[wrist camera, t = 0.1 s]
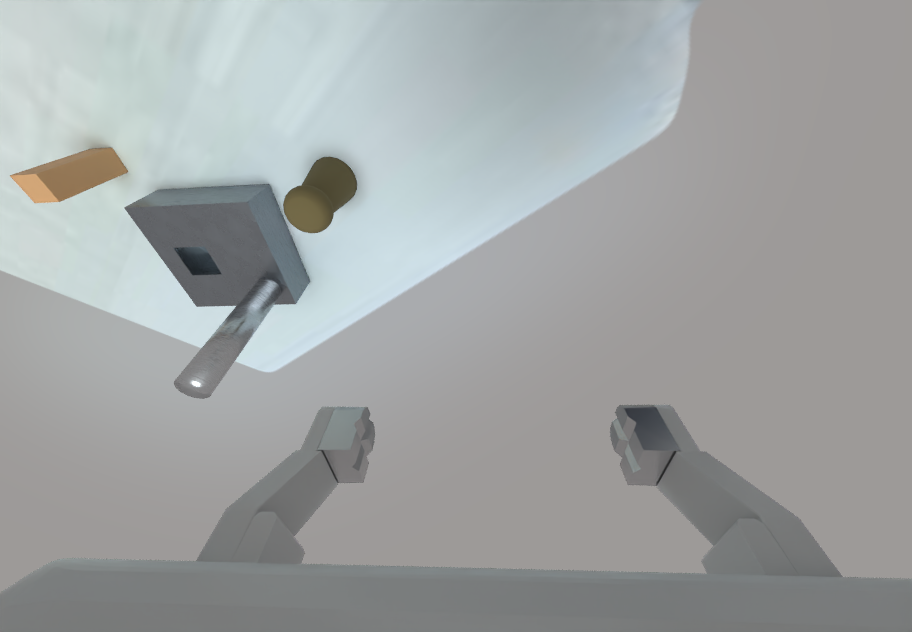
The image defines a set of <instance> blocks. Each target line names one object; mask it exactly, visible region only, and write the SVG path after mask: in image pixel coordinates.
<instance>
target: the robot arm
mask: <svg viewBox="0 0 912 632" xmlns="http://www.w3.org/2000/svg"><path fill="white" fill-rule="evenodd" d="M615 413H616V416H617V419H615V420H614V421H613V422H612V424H611V428H610V436H611V441H612V445H613V447H614V450H615V452H616V453H618V454H619V455H620V456H621V457H622V460H621V463H620V466H621V469H622V471H623V474H624V476H625V479H626V481H627V484H628V485H648V486H657V488H658V489H659V490H660V491H661V492H662V493H663V494H664V496H665V497H667V499H669V501H670V502H671V503H672V504H673V505H674V506H675V507H676V508H677V509H678V510H679V511H680V512H681V513H682V514H683V515H684V516H685V517H686V518H687V519H688V520H689V521H690V522H691V523H692V524H693V525H694V526H695V527H696V528H697V529H698V530H699V531H700V532H701V533H702V534H703V535H704V536H705V537H706V538H707V539H708V540H709V541H710V543H712V544H713V547H712V548H711V549H710V550H709V551H708V553H707V554H706V555H705V556H704V557H703V559H702V563H703V566H704V568H705V570H706V572H707V574H699V573H658V572H617V571H616V572H615V571H574V570H572V571H571V570H535V569H496V568H455V567H453V568H452V567H414V566H373V565H372V566H371V565H331V564H301V563H302V560H303V556H304V554H305V552H304V549H303V548H302V546H301V545H300V544H299V542H298V541H297V540H296V538H295V537H294V536H295V535H296V534H297V533H298V531H299V530H300V529H301V528H302V527H303V525H304V524H305V523H306V522H307V521H308V520H309V518H310V517H311V516H312V515H313V514H314V512H315V511H316V510H317V509H318V508H319V507H320V505H321V504H322V503H323V502H324V501H325V499H326V498H327V497H328V496H329V494H330V493H331V492H332V491H333V490H334V489H335V488H336V486H337V485H338V483H359V482H360V483H363V482H364V479H365V475H366V471H367V468H368V464H369V462H368V460H367V457H366V456H367V455H368V454H369V453H370V452H371V451H372V449H373V445H374V438H375V429H374V424H373V422H372V421H370V420H369V416H370V412H369V409H368V407H322V408H321V409H320V410H319V411H318V413H317V415H316V417H315V420H314V422H313V424H312V426H311V428H310V430H309V433H308V435H307V437H306V439H305V441H304V444H303V445H302V448H301V450H298V451H295V452H294V453H292V454H291V455H290V456H289V457H288V458H286V459H285V460H284V461H283V462H282V463H280V464H279V465H278V466H277V467H276V468H274V469H273V470H272V471H271V472H270V473H268V474H267V475H266V476H265V477H264V478H263V479H261V480H260V481H259V482H258V483H257V484H255V485H254V486H253V487H252V488H251V489H249V490H248V491H247V492H246V493H245V494H243V495H242V496H241V497H240V498H239V499H238V500H236V501H235V502H234V503H233V504H232V505H230V506H229V507H228V508H227V509H226V510H225V512H224V513H223V515H222V517H221V519H220V520H219V522H218V524H217V525H216V527H215V529H214V531H213V532H212V534H211V536H210V538H209V539H208V541H207V543H206V545H205V546H204V548H203V550H202V551H201V553H200V555H199V557H198V559H197V560H196V561H165V560H122V559H86V558H67V559H59V560H56V561H53V562H50V563H48V564H46V565H44V566H43V567H41V568H39V569H37V570H36V571H34V572H32V573H30V574H29V575H27V576H26V577H24V578H22V579H21V580H19V581H18V582H16V583H15V584H13V585H12V586H10V587H8V588H7V589H5V590H4V591H2V592H1V593H0V632H912V579H901V578H861V577H860V578H858V577H843V576H842V575H841V574H840V572H839V571H838V570H837V568H836V567H835V566H834V564H833V563H832V562H831V560H830V559H829V558H828V556H827V555H826V554H825V552H824V551H823V550H822V548H821V547H820V546H819V544H818V543H817V541H816V540H815V539H814V537H813V536H812V535H811V533H810V532H809V531H808V530H807V528H806V527H805V526H804V524H803V523H802V521H801V520H800V519H799V518H798V517H797V516H795V515H794V514H793V513H791V512H790V511H788V510H787V509H785V508H784V507H783V506H781V505H780V504H779V503H777V502H775V501H774V500H773V499H772V498H770V497H769V496H767V495H766V494H764V493H763V492H762V491H760V490H759V489H758V488H756V487H755V486H753V485H752V484H751V483H749V482H748V481H746V480H745V479H743V478H742V477H741V476H739V475H738V474H736V473H735V472H733V471H732V470H731V469H729V468H728V467H727V466H725V465H724V464H722V463H721V462H720V461H718V460H717V459H715V458H714V457H712V456H711V455H710V454H708V453H707V452H701V451H700V450H699V448H698V446H697V445H696V443H695V442H694V440H693V439H692V437H691V435H690V434H689V432H688V431H687V429H686V427H685V426H684V424H683V422H682V421H681V419H680V418H679V416H678V414H677V413H676V412H675V410H674V408H673V407H672V406H670V405H620V406H618V407H617V409H616V412H615Z"/></svg>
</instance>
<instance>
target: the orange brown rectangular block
mask: <svg viewBox="0 0 912 632" xmlns="http://www.w3.org/2000/svg"><path fill="white" fill-rule="evenodd" d="M127 172H128V171H127V169H126V168H125V166H124V165H123V163H122V162H121V160H120V159H119V157H118V156H117V154H116V153H115V151H114V150H113V148H99V149H89V150H86V151H83V152H80V153H77V154H74V155H71V156H68V157H64V158H61V159H58V160H55V161H52V162H49V163H46V164H43V165H40V166H37V167H34V168H31V169H28V170H25V171H22V172H19V173H16V174H13V175H10V176H11V177H12V179H13V180H14V181H15V182H16V183H17V184H18V185H19V186H20V187H21V188H22V190H23V191H24V192H25V193H26V194H27V195H28V196H29V197H30V198H31V199H32V201H33V202H34V203H46V202H60V201H63V200H65V199H67V198H70V197H72V196H74V195H77V194H79V193H81V192H83V191H86V190H88V189H90V188H93V187H95V186H97V185H100V184H102V183H104V182H106V181H109V180H111V179H113V178H116V177H118V176H120V175H123V174H125V173H127Z"/></svg>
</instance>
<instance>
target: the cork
mask: <svg viewBox="0 0 912 632" xmlns="http://www.w3.org/2000/svg"><path fill="white" fill-rule="evenodd" d="M356 190H357V182H356V178H355V175H354V173H353V172H352V170H351V168H350V167H349V166H348V165H346V164H345V163H344V162H343V161H341V160H339V159H337V158H333V157H323V158H321V159H319V160H317V161H316V162H315V164H314V165H313V166H312V168H311V170H310V171H309V173H308V175H307V177H306V178H305V180H304V182H303V184H302V185H301V186H297V187H295V188H293V189H291V190H290V191H289V192H288V194H287V195H286V197H285V200H284V204H283V206H284V212H285V215H286V217H287V219H288V220H289V222H290V223H291V224H292V225H293V226H294V227H296V228H297V229H299V230H301V231H303V232H308V233H318V232H321V231H323V230H325V229H326V228H327V227H328V226H329V225H330V223H331V221H332V219H333V213H334V212H335V211H337V210H338V209H339V208H340V207H342V206H343V205H344V204H345V203H347V202H348V201H349V200H350V199H351V198H352V197H353V196H354V195H355V192H356Z"/></svg>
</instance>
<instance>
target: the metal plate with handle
mask: <svg viewBox="0 0 912 632" xmlns="http://www.w3.org/2000/svg"><path fill="white" fill-rule="evenodd" d="M125 210H126V211H127V212H128V214H129V215H130V216H131V218H132V219H133V220H134V222H135V223H136V225H137V226H138V227H139V229H140V230H141V231H142V233H143V234H144V235H145V237H146V238H147V239H148V241H149V242H150V244H151V245H152V246H153V248H154V249H155V250H156V252H157V253H158V254H159V256H160V257H161V259H162V260H163V261H164V263H165V264H166V265H167V267H168V268H169V269H170V271H171V272H172V273H173V275H174V276H175V278H176V279H177V280H178V282H179V283H180V284H181V286H182V287H183V288H184V290H185V291H186V293H187V294H188V295H189V297H190V298H191V299H192V301H193V302H194V303H195V305H196V306H197V307H200V306H236V307H235V309H234V310H233V311H232V312H231V313H230V315H229V316H228V317H227V318H226V319H225V321H224V322H223V323H222V324H221V325H220V327H219V328H218V329H217V330H216V332H215V333H214V334H213V335H212V336H211V338H210V339H209V340H208V341H207V342H206V344H205V345H204V346H203V347H202V348H201V350H200V351H199V352H198V353H197V355H196V356H195V357H194V358H193V359H192V361H191V362H190V363H189V364H188V365H187V367H186V368H185V369H184V370H183V371H182V373H181V374H180V375H179V376H178V377H177V379H176V380H175V381H174V385H175V387H176V388H177V389H178V390H179V391H180V392H182V393H184V394H186V395H188V396H191V397H194V398H208V397H210V396H211V394H212V393H213V391H214V390H215V388H216V387H217V386H218V384H219V383H220V381H221V380H222V378H223V377H224V375H225V374H226V373H227V371H228V370H229V368H230V367H231V365H232V364H233V363H234V361H235V360H236V358H237V357H238V356H239V354H240V353H241V351H242V350H243V348H244V347H245V345H246V344H247V343H248V341H249V340H250V338H251V337H252V335H253V334H254V333H255V331H256V330H257V328H258V327H259V325H260V324H261V323H262V321H263V320H264V318H265V317H266V315H267V314H268V313H269V311H270V310H271V308H272V307H273V305H274V304H296V303H297V301H298V300H299V298H300V297H301V295H302V293H303V292H304V290H305V289H306V287H307V285H308V284H309V282H310V280H309V278H308V275H307V273H306V270H305V268H304V266H303V263H302V261H301V259H300V256H299V254H298V251H297V249H296V247H295V244H294V242H293V239H292V237H291V235H290V232H289V230H288V228H287V225H286V223H285V220H284V218H283V216H282V213H281V211H280V209H279V206H278V204H277V201H276V199H275V197H274V194H273V192H272V190H271V187H270V185H269V184H263V185H243V186H223V187H204V188H184V189H164V190H157V191H155V192H153V193H151V194H149V195H147V196H145V197H143V198H142V199H140V200H138V201H136V202H134V203H132V204H130V205H128V206H126V207H125Z"/></svg>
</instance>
